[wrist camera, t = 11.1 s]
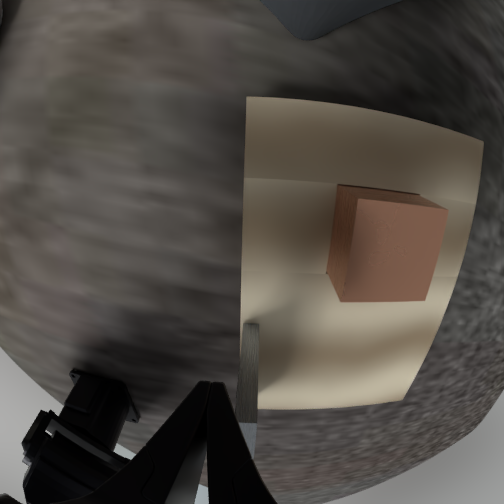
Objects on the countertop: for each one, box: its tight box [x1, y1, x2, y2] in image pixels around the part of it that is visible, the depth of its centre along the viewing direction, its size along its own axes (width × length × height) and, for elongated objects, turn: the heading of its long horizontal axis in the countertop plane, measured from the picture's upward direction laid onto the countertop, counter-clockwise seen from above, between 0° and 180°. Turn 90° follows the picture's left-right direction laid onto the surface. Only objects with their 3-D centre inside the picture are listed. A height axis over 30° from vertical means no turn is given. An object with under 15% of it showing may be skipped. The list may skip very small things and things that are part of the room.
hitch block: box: [240, 97, 484, 409], centre depth 15 cm, size 18×12×4 cm, turn 178°
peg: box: [326, 184, 449, 302], centre depth 13 cm, size 4×4×7 cm
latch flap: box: [235, 323, 259, 459], centre depth 13 cm, size 6×6×1 cm
